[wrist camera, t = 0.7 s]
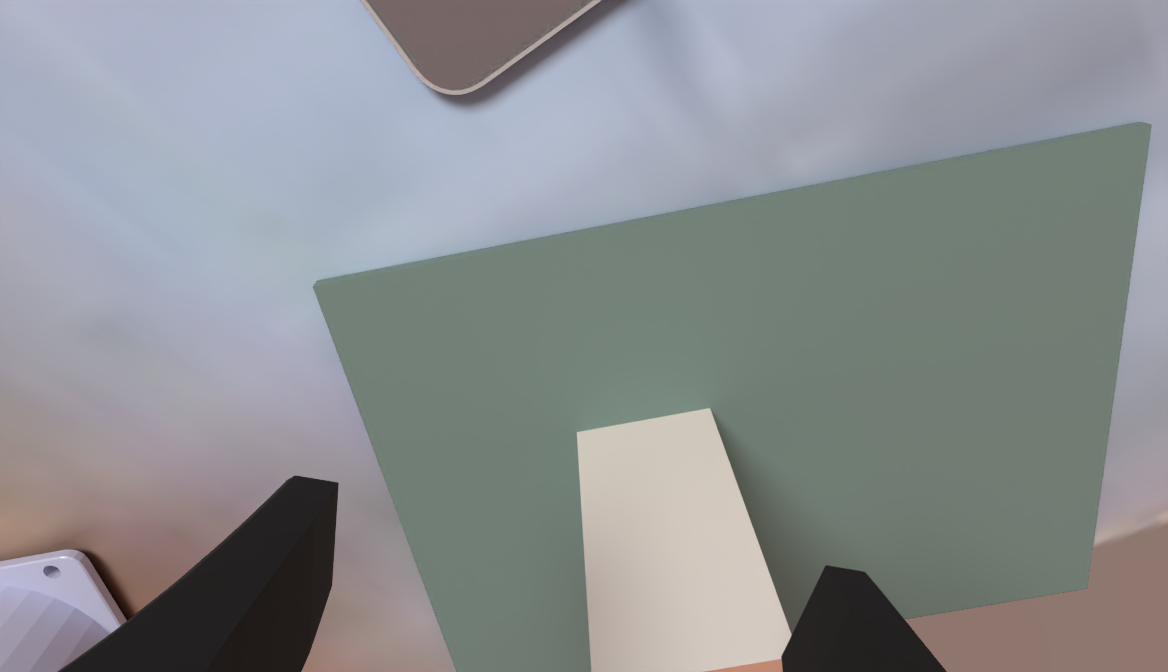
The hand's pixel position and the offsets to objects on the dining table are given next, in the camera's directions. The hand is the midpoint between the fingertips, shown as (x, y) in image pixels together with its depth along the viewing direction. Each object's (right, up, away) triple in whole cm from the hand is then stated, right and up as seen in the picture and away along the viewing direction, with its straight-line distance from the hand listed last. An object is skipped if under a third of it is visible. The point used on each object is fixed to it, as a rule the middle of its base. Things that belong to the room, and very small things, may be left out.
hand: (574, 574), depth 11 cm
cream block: (+2, -1, +12) cm, 13 cm away
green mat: (+5, 0, +13) cm, 14 cm away
